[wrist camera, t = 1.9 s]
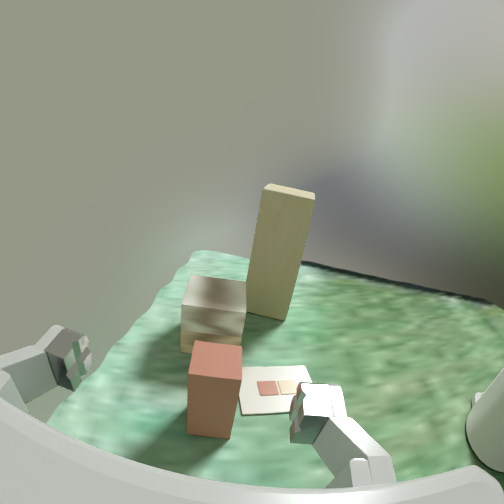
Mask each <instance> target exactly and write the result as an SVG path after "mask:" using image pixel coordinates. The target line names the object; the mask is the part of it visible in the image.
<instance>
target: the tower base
mask: <svg viewBox="0 0 504 504" xmlns="http://www.w3.org/2000/svg"><path fill="white" fill-rule="evenodd" d="M245 318H246V282H243V281H235V280H227V279H220V278H212V277H205V276H198V275H191V278H190V280H189V283H188V286H187V289H186V292H185V295H184V298H183V301H182V306H181V337H180V352H184V353H190V354H192V352H193V347H194V342H195V340H197V341H204V342H211V343H219V344H227V345H236V346H241V340H242V334H243V329H244V323H245Z"/></svg>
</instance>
